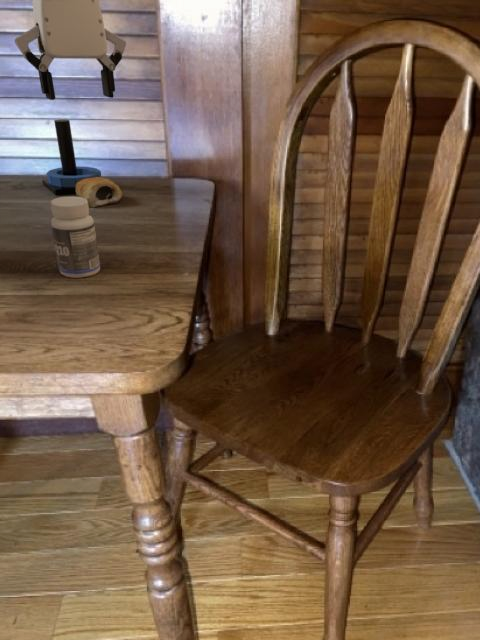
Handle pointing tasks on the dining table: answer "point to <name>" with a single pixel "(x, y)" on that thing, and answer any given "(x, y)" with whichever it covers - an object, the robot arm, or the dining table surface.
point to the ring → (60, 180)
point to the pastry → (98, 191)
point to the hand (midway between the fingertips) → (80, 97)
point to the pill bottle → (74, 237)
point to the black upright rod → (64, 156)
